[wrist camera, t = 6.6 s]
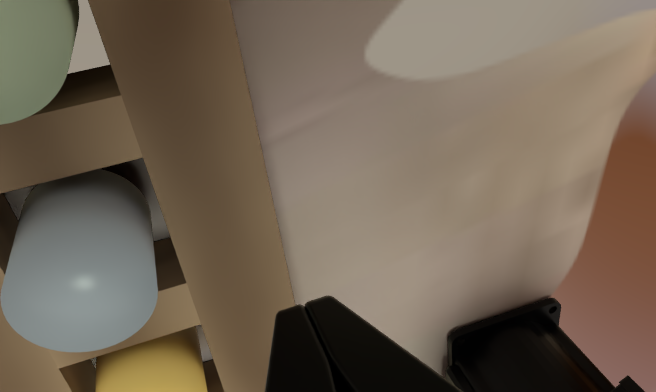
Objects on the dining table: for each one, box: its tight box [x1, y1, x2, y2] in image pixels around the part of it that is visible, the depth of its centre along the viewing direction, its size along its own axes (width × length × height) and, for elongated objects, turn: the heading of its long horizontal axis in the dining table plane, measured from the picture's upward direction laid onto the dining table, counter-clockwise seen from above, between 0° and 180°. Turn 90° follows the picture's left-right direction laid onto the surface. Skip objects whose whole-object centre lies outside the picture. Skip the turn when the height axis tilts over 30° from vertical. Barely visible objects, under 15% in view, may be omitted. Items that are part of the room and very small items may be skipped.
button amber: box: [95, 326, 207, 392], centre depth 22 cm, size 4×4×4 cm
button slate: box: [0, 169, 158, 352], centre depth 18 cm, size 4×4×4 cm
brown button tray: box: [0, 0, 295, 392], centre depth 19 cm, size 12×21×3 cm, turn 7°
